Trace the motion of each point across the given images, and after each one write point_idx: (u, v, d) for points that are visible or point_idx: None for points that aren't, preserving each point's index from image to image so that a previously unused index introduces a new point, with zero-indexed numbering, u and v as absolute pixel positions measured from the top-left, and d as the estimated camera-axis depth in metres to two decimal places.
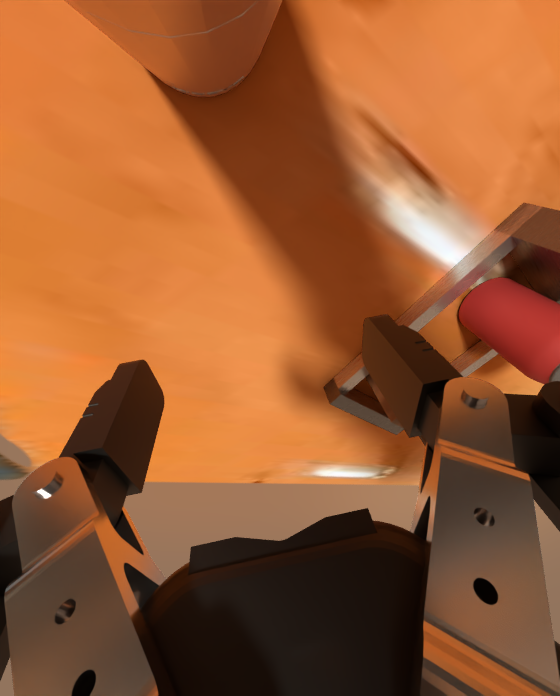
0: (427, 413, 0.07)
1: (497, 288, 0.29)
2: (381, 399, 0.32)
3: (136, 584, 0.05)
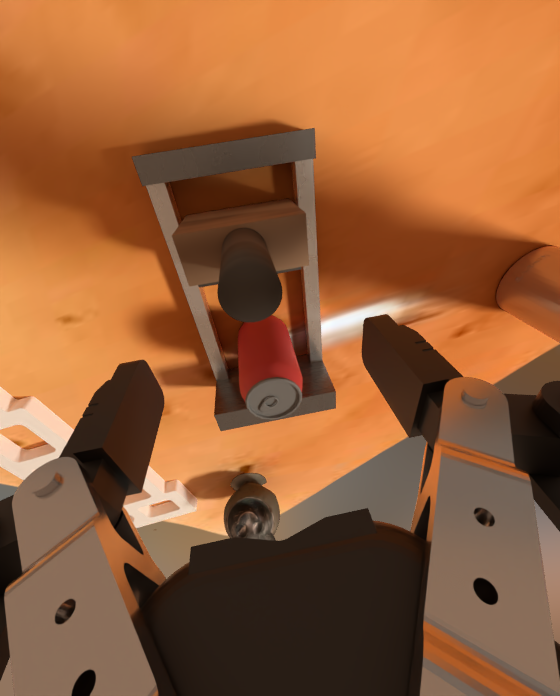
0: (427, 413, 0.07)
1: None
2: None
3: (136, 584, 0.05)
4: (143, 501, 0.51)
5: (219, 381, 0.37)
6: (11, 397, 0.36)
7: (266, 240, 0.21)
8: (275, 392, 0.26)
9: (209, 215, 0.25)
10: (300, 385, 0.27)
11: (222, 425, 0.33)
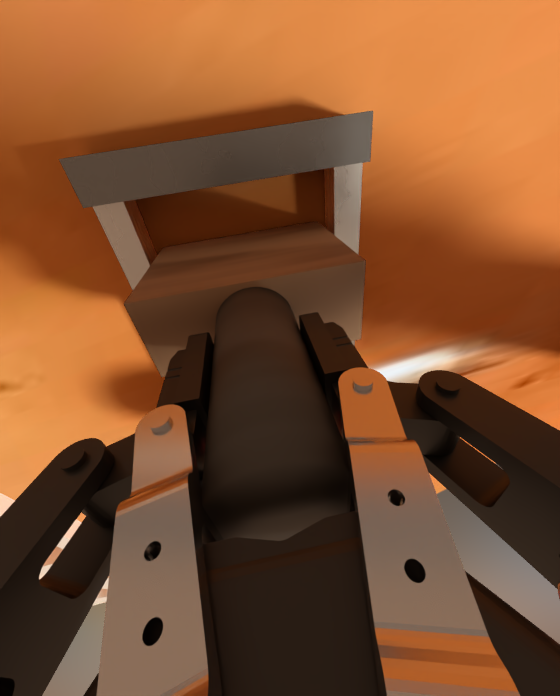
0: (333, 401, 0.08)
1: None
2: None
3: (207, 543, 0.06)
4: None
5: None
6: None
7: (293, 305, 0.12)
8: None
9: (197, 251, 0.16)
10: None
11: None
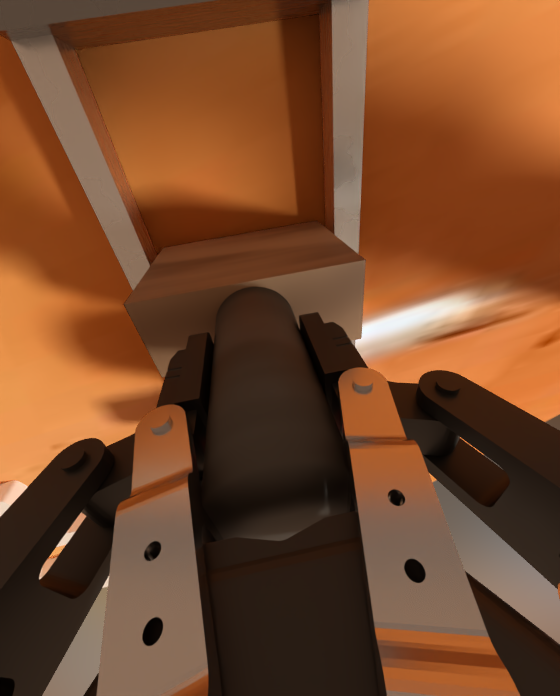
0: (333, 401, 0.08)
1: None
2: None
3: (207, 544, 0.06)
4: None
5: None
6: None
7: (293, 305, 0.12)
8: None
9: (197, 251, 0.16)
10: None
11: None
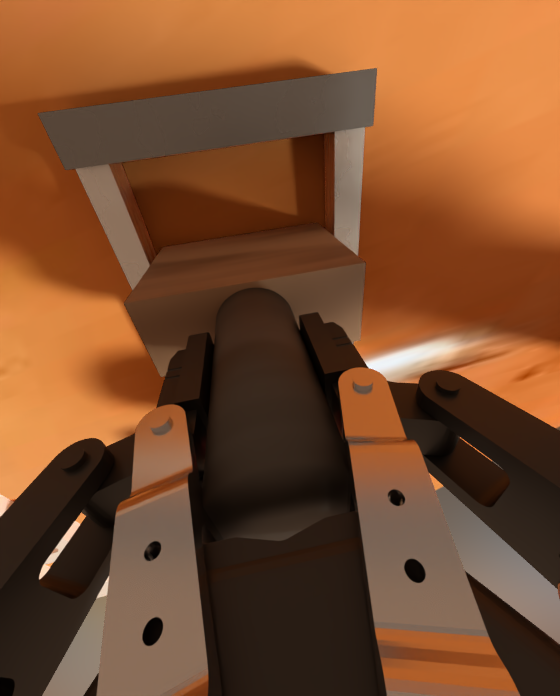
0: (333, 401, 0.08)
1: None
2: None
3: (207, 544, 0.05)
4: None
5: None
6: None
7: (293, 306, 0.12)
8: None
9: (197, 251, 0.16)
10: None
11: None
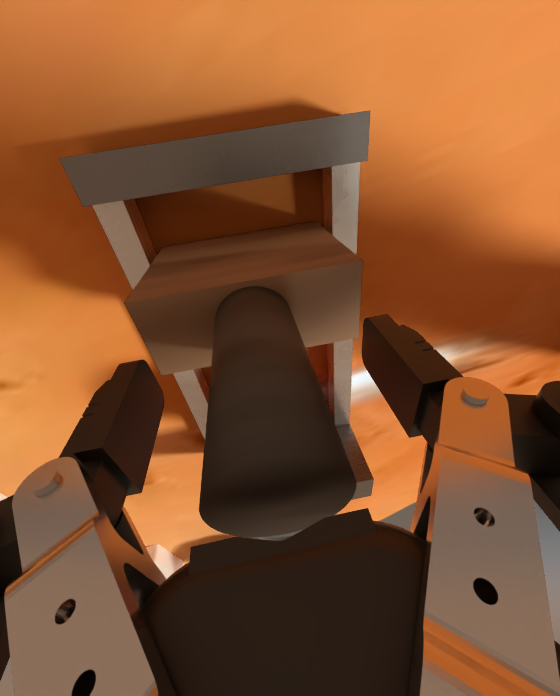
0: (427, 413, 0.07)
1: None
2: None
3: (136, 584, 0.05)
4: None
5: None
6: None
7: (291, 304, 0.12)
8: None
9: (196, 251, 0.16)
10: None
11: None
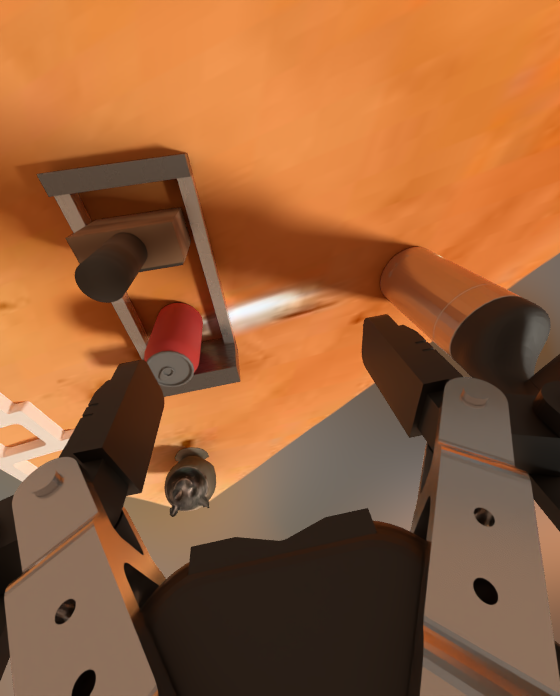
0: (427, 413, 0.07)
1: None
2: (176, 219, 0.29)
3: (136, 584, 0.05)
4: None
5: None
6: None
7: (144, 242, 0.27)
8: (170, 363, 0.33)
9: (110, 220, 0.31)
10: (192, 358, 0.34)
11: None
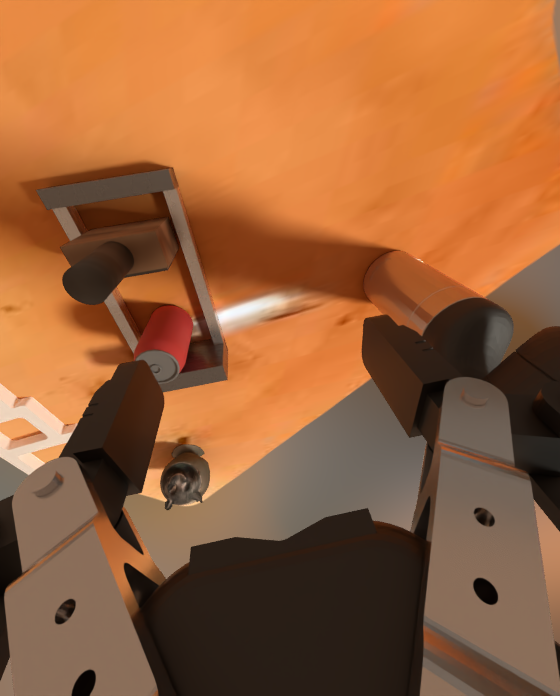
0: (427, 413, 0.07)
1: (191, 332, 0.44)
2: (161, 228, 0.32)
3: (136, 584, 0.05)
4: None
5: None
6: None
7: (130, 250, 0.30)
8: (157, 361, 0.35)
9: (103, 230, 0.34)
10: (178, 357, 0.36)
11: None
